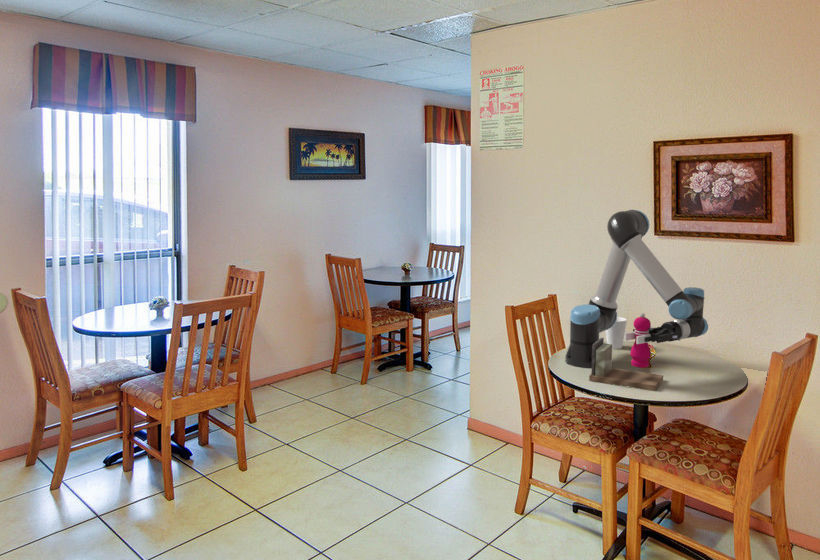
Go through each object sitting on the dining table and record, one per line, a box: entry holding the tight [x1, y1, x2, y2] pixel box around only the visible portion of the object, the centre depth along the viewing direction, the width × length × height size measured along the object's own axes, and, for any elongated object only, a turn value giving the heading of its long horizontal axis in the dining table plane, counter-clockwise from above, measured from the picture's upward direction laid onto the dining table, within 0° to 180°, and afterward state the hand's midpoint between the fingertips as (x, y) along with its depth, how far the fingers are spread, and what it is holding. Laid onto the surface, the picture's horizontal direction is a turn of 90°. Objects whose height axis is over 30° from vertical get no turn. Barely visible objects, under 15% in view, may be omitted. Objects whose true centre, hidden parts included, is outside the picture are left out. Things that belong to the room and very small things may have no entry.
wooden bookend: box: [588, 337, 664, 392], centre depth 240 cm, size 24×14×14 cm, turn 58°
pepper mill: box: [629, 312, 652, 369], centre depth 236 cm, size 7×7×20 cm
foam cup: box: [605, 316, 628, 350], centre depth 287 cm, size 10×9×13 cm
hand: (631, 338), depth 234 cm, fingers closed on pepper mill, 5 cm apart
